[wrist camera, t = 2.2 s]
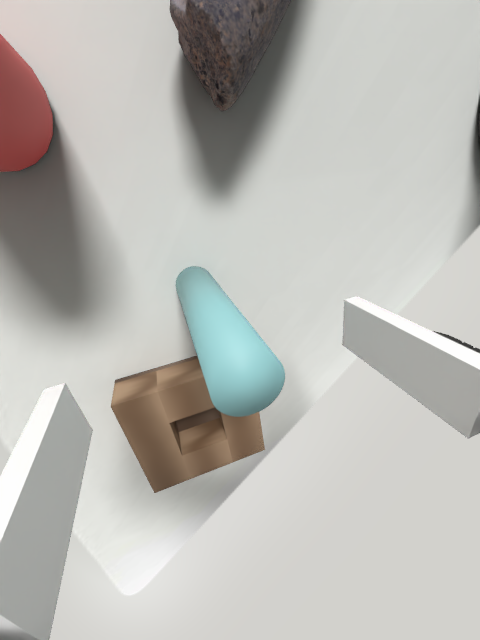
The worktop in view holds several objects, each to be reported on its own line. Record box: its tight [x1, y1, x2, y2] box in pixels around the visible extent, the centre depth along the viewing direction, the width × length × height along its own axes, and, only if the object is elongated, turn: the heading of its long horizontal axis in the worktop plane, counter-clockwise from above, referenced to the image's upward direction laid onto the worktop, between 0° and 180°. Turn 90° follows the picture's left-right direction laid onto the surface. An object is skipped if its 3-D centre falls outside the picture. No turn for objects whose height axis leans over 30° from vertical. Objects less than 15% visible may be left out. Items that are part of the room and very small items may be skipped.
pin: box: [176, 266, 285, 417], centre depth 17 cm, size 3×3×14 cm
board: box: [111, 356, 265, 493], centre depth 27 cm, size 12×12×4 cm
